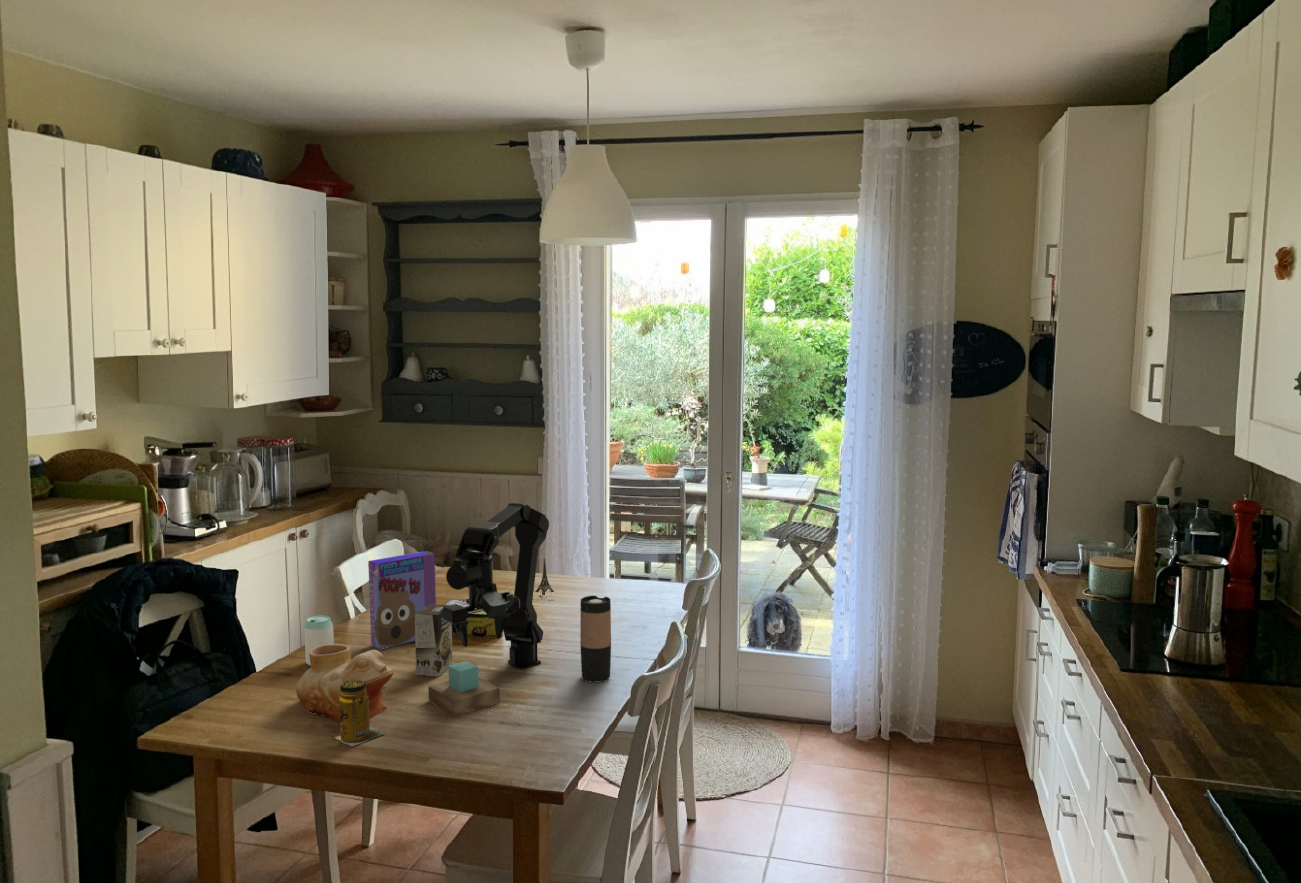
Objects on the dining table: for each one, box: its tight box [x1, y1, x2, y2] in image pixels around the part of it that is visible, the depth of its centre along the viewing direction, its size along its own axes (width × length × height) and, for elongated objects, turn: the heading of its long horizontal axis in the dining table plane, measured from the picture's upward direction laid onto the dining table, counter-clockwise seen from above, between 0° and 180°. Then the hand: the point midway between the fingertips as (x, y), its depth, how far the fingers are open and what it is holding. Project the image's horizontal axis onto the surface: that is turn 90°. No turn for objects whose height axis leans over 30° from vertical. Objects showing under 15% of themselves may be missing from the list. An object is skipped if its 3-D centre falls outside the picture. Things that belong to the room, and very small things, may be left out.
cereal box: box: [367, 550, 437, 650], centre depth 272 cm, size 17×5×24 cm, turn 131°
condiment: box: [337, 680, 386, 747], centre depth 211 cm, size 7×8×12 cm
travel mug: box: [579, 595, 612, 683], centre depth 245 cm, size 8×8×20 cm
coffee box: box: [414, 604, 453, 678], centre depth 250 cm, size 9×6×16 cm
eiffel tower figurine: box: [535, 555, 555, 595], centre depth 320 cm, size 15×10×13 cm
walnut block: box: [427, 676, 501, 717], centre depth 230 cm, size 12×12×4 cm
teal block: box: [448, 660, 480, 692], centre depth 230 cm, size 5×5×5 cm
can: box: [303, 615, 335, 667], centre depth 255 cm, size 7×7×12 cm
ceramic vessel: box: [295, 643, 394, 723], centre depth 225 cm, size 14×26×15 cm, turn 58°
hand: (482, 642), depth 236 cm, fingers open, 9 cm apart
